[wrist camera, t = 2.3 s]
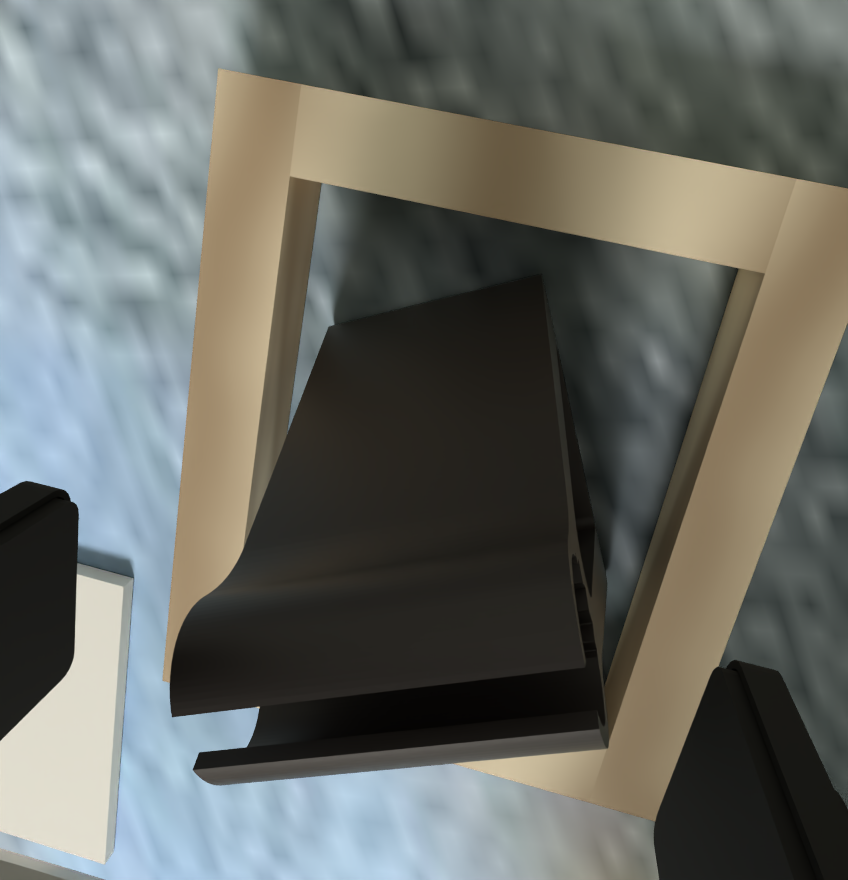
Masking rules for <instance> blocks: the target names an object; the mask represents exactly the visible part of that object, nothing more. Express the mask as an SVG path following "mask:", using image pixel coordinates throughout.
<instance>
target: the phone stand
mask: <svg viewBox="0 0 848 880" xmlns="http://www.w3.org/2000/svg"><path fill="white" fill-rule="evenodd" d="M606 595H607V579H606V573H605V568H604V563H603V558H602V554H601V549H600V544H599V540H598V535H597V530H596V525H595V521H594V516H593V511H592V507H591V502H590V497H589V492H588V488H587V483H586V478H585V474H584V469H583V464H582V459H581V455H580V450H579V445H578V441H577V437H576V432H575V426H574V422H573V417H572V412H571V408H570V403H569V398H568V393H567V389H566V384H565V379H564V375H563V370H562V365H561V360H560V356H559V351H558V346H557V342H556V337H555V332H554V327H553V323H552V318H551V313H550V309H549V304H548V299H547V294H546V290H545V285H544V281H543V277H542V274H540V275H536V276H532V277H528V278H524V279H519V280H515V281H511V282H507V283H503V284H499V285H495V286H491V287H487V288H483V289H479V290H475V291H471V292H467V293H463V294H459V295H455V296H451V297H446V298H442V299H438V300H434V301H430V302H426V303H422V304H418V305H414V306H410V307H406V308H402V309H398V310H394V311H390V312H386V313H382V314H377V315H373V316H369V317H365V318H361V319H357V320H353V321H349V322H345V323H341V324H337V325H333V326H329V327H328V330H327V332H326V335H325V338H324V340H323V343H322V345H321V348H320V351H319V353H318V356H317V358H316V361H315V364H314V366H313V369H312V371H311V374H310V377H309V379H308V382H307V384H306V387H305V390H304V392H303V395H302V397H301V400H300V403H299V405H298V408H297V410H296V413H295V416H294V418H293V421H292V423H291V426H290V429H289V431H288V434H287V436H286V439H285V442H284V444H283V447H282V449H281V452H280V455H279V457H278V460H277V462H276V465H275V468H274V470H273V473H272V475H271V478H270V481H269V483H268V486H267V488H266V491H265V494H264V496H263V499H262V501H261V504H260V507H259V509H258V512H257V514H256V517H255V520H254V522H253V525H252V527H251V530H250V533H249V535H248V538H247V540H246V543H245V546H244V548H243V550H242V553H241V555H240V557H239V559H238V561H237V563H236V564H235V566H234V568H233V569H232V571H231V572H230V574H229V575H228V576H227V577H226V579H225V580H224V581H223V582H222V583H221V584H220V585H219V586H218V587H217V588H216V589H214V590H213V591H212V592H210V593H209V594H207V595H206V596H204V597H203V598H201V599H200V600H199V601H198V602H197V603H196V604H195V605H194V606H193V607H192V608H191V610H190V611H189V613H188V614H187V616H186V618H185V619H184V621H183V624H182V626H181V628H180V631H179V633H178V636H177V640H176V643H175V647H174V652H173V657H172V663H171V672H170V704H171V713H172V717H177V716H186V715H194V714H202V713H211V712H219V711H227V710H236V709H244V708H252V707H260V708H259V714H258V719H257V723H256V727H255V730H254V733H253V736H252V738H251V740H250V742H249V744H248V746H247V748H237V749H228V750H219V751H209V752H200V753H199V755H198V757H197V760H196V763H195V765H194V768H193V771H194V772H195V773H196V774H197V775H198V776H199V777H200V778H201V779H202V780H204V781H206V782H208V783H210V784H213V785H230V784H240V783H251V782H262V781H272V780H283V779H294V778H304V777H315V776H325V775H336V774H347V773H357V772H368V771H378V770H389V769H400V768H410V767H421V766H431V765H442V764H453V763H463V762H474V761H485V760H495V759H506V758H516V757H527V756H538V755H548V754H559V753H569V752H580V751H591V750H601V749H608V747H609V730H608V719H607V710H606V701H605V692H604V682H603V670H602V648H603V635H604V622H605V608H606Z"/></svg>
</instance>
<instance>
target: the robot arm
mask: <svg viewBox="0 0 848 880" xmlns="http://www.w3.org/2000/svg"><path fill="white" fill-rule="evenodd" d="M78 520H79V513H78V507H77V505H76V504H75V503H73V502H71V501H70V497H69V494H68V493H67V492H66V491H65V490H62V489H58V488H54V487H50V486H46V485H42V484H38V483H34V482H30V481H25V482H22V483H19V484H18V485H16V486H14V487H12V488H10V489H8V490H7V491H5V492H3V493H1V494H0V741H1V740H2V739H3V738H4V737H5V736H6V735H7V734H8V733H9V732H10V731H11V730H12V729H13V728H14V727H15V726H16V725H17V724H18V723H19V722H20V721H21V720H22V719H23V718H24V717H25V716H26V715H27V714H28V713H29V712H30V711H31V710H32V709H33V708H34V707H35V706H36V705H37V704H38V703H39V702H40V701H41V700H42V699H43V698H44V697H45V696H46V695H47V694H48V693H49V692H50V691H51V690H52V689H53V688H54V687H55V686H56V685H57V684H58V683H59V682H60V681H61V680H62V679H63V678H64V677H65V676H66V674H67V672H68V671H69V669H70V667H71V665H72V662H73V658H74V652H75V620H76V587H77V553H78ZM654 846H655V853H656V860H657V866H658V873H659V880H848V809H847V807H846V805H845V803H844V801H843V799H842V798H841V796H840V795H839V793H838V792H837V791H835V790H834V788H833V786H832V784H831V781H830V779H829V777H828V775H827V773H826V771H825V768H824V766H823V764H822V762H821V760H820V758H819V756H818V753H817V751H816V749H815V747H814V745H813V743H812V740H811V738H810V736H809V734H808V732H807V730H806V728H805V725H804V723H803V721H802V719H801V717H800V715H799V712H798V710H797V708H796V706H795V704H794V702H793V699H792V697H791V695H790V693H789V691H788V689H787V687H786V684H785V682H784V680H783V678H782V676H781V675H780V673H779V672H778V671H776V670H773V669H769V668H765V667H761V666H757V665H753V664H749V663H745V662H741V661H737V660H734V661H731V662H730V664H729V665H728V666H727V668H726V669H725V668H721V667H716V668H715V669H714V670H713V671H712V673H711V675H710V678H709V680H708V683H707V685H706V688H705V691H704V693H703V696H702V698H701V701H700V704H699V706H698V709H697V711H696V714H695V717H694V719H693V722H692V724H691V727H690V730H689V732H688V735H687V737H686V740H685V743H684V745H683V748H682V750H681V753H680V756H679V758H678V761H677V763H676V766H675V769H674V771H673V774H672V776H671V779H670V782H669V784H668V787H667V789H666V792H665V795H664V797H663V800H662V802H661V805H660V808H659V810H658V813H657V816H656V820H655V826H654ZM0 880H104V879H101V878H98V877H94V876H91V875H88V874H85V873H81V872H78V871H75V870H71V869H68V868H65V867H61V866H58V865H55V864H51V863H48V862H44V861H41V860H38V859H34V858H31V857H28V856H24V855H21V854H18V853H14V852H11V851H7V850H4V849H1V848H0Z"/></svg>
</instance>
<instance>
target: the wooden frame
mask: <svg viewBox="0 0 848 880" xmlns="http://www.w3.org/2000/svg"><path fill="white" fill-rule="evenodd" d="M321 183H325V184H330V185H335V186H340V187H345V188H350V189H354V190H359V191H364V192H369V193H374V194H379V195H384V196H389V197H394V198H398V199H403V200H408V201H413V202H418V203H423V204H428V205H433V206H437V207H442V208H447V209H452V210H457V211H462V212H467V213H472V214H476V215H481V216H486V217H491V218H496V219H501V220H506V221H511V222H516V223H520V224H525V225H530V226H535V227H540V228H545V229H550V230H555V231H559V232H564V233H569V234H574V235H579V236H584V237H589V238H594V239H598V240H603V241H608V242H613V243H618V244H623V245H628V246H633V247H638V248H642V249H647V250H652V251H657V252H662V253H667V254H672V255H677V256H681V257H686V258H691V259H696V260H701V261H706V262H711V263H716V264H720V265H725V266H730V267H735V268H739V269H738V272H737V275H736V278H735V281H734V285H733V288H732V291H731V294H730V297H729V300H728V303H727V306H726V310H725V313H724V316H723V319H722V322H721V325H720V328H719V331H718V334H717V338H716V341H715V344H714V347H713V350H712V353H711V356H710V359H709V362H708V366H707V369H706V372H705V375H704V378H703V381H702V384H701V387H700V390H699V394H698V397H697V400H696V403H695V406H694V409H693V412H692V415H691V418H690V422H689V425H688V428H687V431H686V434H685V437H684V440H683V443H682V447H681V450H680V453H679V456H678V459H677V462H676V465H675V468H674V471H673V475H672V478H671V481H670V484H669V487H668V490H667V493H666V496H665V499H664V503H663V506H662V509H661V512H660V515H659V518H658V521H657V524H656V527H655V531H654V534H653V537H652V540H651V543H650V546H649V549H648V552H647V555H646V559H645V562H644V565H643V568H642V571H641V574H640V577H639V580H638V583H637V587H636V590H635V593H634V596H633V599H632V602H631V605H630V608H629V612H628V615H627V618H626V621H625V624H624V627H623V630H622V633H621V636H620V640H619V643H618V646H617V649H616V652H615V655H614V658H613V661H612V664H611V668H610V671H609V674H608V677H607V680H606V683H605V686H604V692H605V701H606V710H607V719H608V730H609V747H608V749H601V750H591V751H580V752H569V753H559V754H548V755H538V756H527V757H516V758H506V759H495V760H485V761H474V762H463V763H453V764H456V765H459V766H463V767H466V768H470V769H473V770H477V771H480V772H484V773H487V774H491V775H494V776H498V777H501V778H505V779H508V780H512V781H515V782H519V783H522V784H526V785H529V786H533V787H536V788H540V789H543V790H547V791H550V792H554V793H557V794H561V795H564V796H568V797H571V798H575V799H578V800H582V801H585V802H589V803H592V804H596V805H599V806H603V807H606V808H610V809H613V810H617V811H620V812H624V813H627V814H631V815H634V816H638V817H641V818H645V819H648V820H652V821H655V820H656V816H657V813H658V810H659V808H660V805H661V802H662V800H663V797H664V795H665V792H666V789H667V787H668V784H669V782H670V779H671V776H672V774H673V771H674V769H675V766H676V763H677V761H678V758H679V756H680V753H681V750H682V748H683V745H684V743H685V740H686V737H687V735H688V732H689V730H690V727H691V724H692V722H693V719H694V717H695V714H696V711H697V709H698V706H699V704H700V701H701V698H702V696H703V693H704V691H705V688H706V685H707V683H708V680H709V678H710V675H711V673H712V671H713V670H714V669H715V668H716V667H718V666H719V663H720V660H721V658H722V655H723V652H724V650H725V647H726V644H727V642H728V639H729V637H730V634H731V631H732V629H733V626H734V623H735V621H736V618H737V615H738V613H739V610H740V607H741V605H742V602H743V599H744V597H745V594H746V591H747V589H748V586H749V583H750V581H751V578H752V575H753V573H754V570H755V567H756V565H757V562H758V559H759V557H760V554H761V552H762V549H763V546H764V544H765V541H766V538H767V536H768V533H769V530H770V528H771V525H772V522H773V520H774V517H775V514H776V512H777V509H778V506H779V504H780V501H781V498H782V496H783V493H784V490H785V488H786V485H787V482H788V480H789V477H790V474H791V472H792V469H793V466H794V464H795V461H796V459H797V456H798V453H799V451H800V448H801V445H802V443H803V440H804V437H805V435H806V432H807V429H808V427H809V424H810V421H811V419H812V416H813V413H814V411H815V408H816V405H817V403H818V400H819V397H820V395H821V392H822V389H823V387H824V384H825V381H826V379H827V376H828V374H829V371H830V368H831V366H832V363H833V360H834V358H835V355H836V352H837V350H838V347H839V344H840V342H841V339H842V336H843V334H844V331H845V328H846V326H847V323H848V189H847V188H842V187H837V186H832V185H827V184H821V183H816V182H811V181H806V180H800V179H795V178H790V177H785V176H779V175H774V174H769V173H764V172H758V171H753V170H748V169H743V168H737V167H732V166H727V165H722V164H716V163H711V162H706V161H701V160H696V159H690V158H685V157H680V156H675V155H669V154H664V153H659V152H654V151H648V150H643V149H638V148H633V147H627V146H622V145H617V144H612V143H606V142H601V141H596V140H591V139H585V138H580V137H575V136H570V135H565V134H559V133H554V132H549V131H544V130H538V129H533V128H528V127H523V126H517V125H512V124H507V123H502V122H496V121H491V120H486V119H481V118H475V117H470V116H465V115H460V114H454V113H449V112H444V111H439V110H434V109H428V108H423V107H418V106H413V105H407V104H402V103H397V102H392V101H386V100H381V99H376V98H371V97H365V96H360V95H355V94H350V93H344V92H339V91H334V90H329V89H323V88H318V87H313V86H308V85H302V84H297V83H292V82H287V81H282V80H276V79H271V78H266V77H261V76H255V75H250V74H245V73H240V72H234V71H229V70H224V69H219V68H218V78H217V89H216V100H215V111H214V122H213V133H212V144H211V155H210V166H209V177H208V188H207V199H206V210H205V221H204V232H203V243H202V254H201V265H200V276H199V287H198V298H197V308H196V319H195V330H194V341H193V352H192V363H191V374H190V385H189V396H188V407H187V418H186V429H185V440H184V451H183V462H182V473H181V484H180V495H179V506H178V517H177V528H176V538H175V549H174V560H173V571H172V582H171V593H170V604H169V615H168V626H167V637H166V648H165V659H164V670H163V681H166V682H169V683H170V672H171V663H172V657H173V652H174V647H175V643H176V640H177V636H178V633H179V631H180V628H181V626H182V624H183V621H184V619H185V618H186V616H187V614H188V613H189V611H190V610H191V608H192V607H193V606H194V605H195V604H196V603H197V602H198V601H199V600H200V599H201V598H203V597H204V596H206V595H207V594H209V593H210V592H212V591H213V590H214V589H216V588H217V587H218V586H219V585H220V584H221V583H222V582H223V581H224V580H225V579H226V577H227V576H228V575H229V574H230V572H231V571H232V569H233V568H234V566H235V564H236V563H237V561H238V559H239V557H240V555H241V553H242V550H243V548H244V546H245V543H246V540H247V538H248V535H249V533H250V530H251V527H252V525H253V522H254V520H255V517H256V514H257V512H258V509H259V507H260V504H261V501H262V499H263V496H264V494H265V491H266V488H267V486H268V483H269V481H270V478H271V475H272V473H273V470H274V468H275V465H276V462H277V460H278V457H279V455H280V452H281V449H282V447H283V444H284V442H285V439H286V436H287V429H288V422H289V414H290V407H291V400H292V393H293V385H294V378H295V371H296V364H297V356H298V349H299V342H300V335H301V327H302V320H303V313H304V306H305V298H306V291H307V284H308V277H309V269H310V262H311V255H312V248H313V240H314V233H315V226H316V219H317V212H318V204H319V197H320V190H321ZM256 708H260V707H256Z"/></svg>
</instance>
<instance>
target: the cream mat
mask: <svg viewBox="0 0 848 880" xmlns="http://www.w3.org/2000/svg"><path fill="white" fill-rule="evenodd" d="M133 579H134V578H131V577H127V576H123V575H120V574H116V573H112V572H109V571H105V570H101V569H98V568H94V567H90V566H86V565H83V564H79V563H77V587H76V620H75V652H74V658H73V662H72V665H71V667H70V669H69V671H68V672H67V674H66V676H65V677H64V678H63V679H62V680H61V681H60V682H59V683H58V684H57V685H56V686H55V687H54V688H53V689H52V690H51V691H50V692H49V693H48V694H47V695H46V696H45V697H44V698H43V699H42V700H41V701H40V702H39V703H38V704H37V705H36V706H35V707H34V708H33V709H32V710H31V711H30V712H29V713H28V714H27V715H26V716H25V717H24V718H23V719H22V720H21V721H20V722H19V723H18V724H17V725H16V726H15V727H14V728H13V729H12V730H11V731H10V732H9V733H8V734H7V735H6V736H5V737H4V738H3V739H2V740H1V741H0V831H1V832H4V833H7V834H10V835H13V836H16V837H20V838H23V839H26V840H29V841H32V842H35V843H39V844H42V845H45V846H48V847H51V848H54V849H58V850H61V851H64V852H67V853H70V854H73V855H76V856H80V857H83V858H86V859H89V860H92V861H95V862H99V863H102V864H105V863H106V862H107V860H108V859H109V858H110V856H111V855H112V853H113V852H114V841H115V827H116V813H117V800H118V786H119V772H120V758H121V744H122V730H123V717H124V703H125V689H126V675H127V661H128V648H129V634H130V620H131V606H132V592H133Z"/></svg>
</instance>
